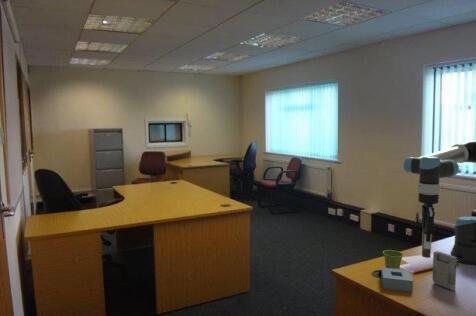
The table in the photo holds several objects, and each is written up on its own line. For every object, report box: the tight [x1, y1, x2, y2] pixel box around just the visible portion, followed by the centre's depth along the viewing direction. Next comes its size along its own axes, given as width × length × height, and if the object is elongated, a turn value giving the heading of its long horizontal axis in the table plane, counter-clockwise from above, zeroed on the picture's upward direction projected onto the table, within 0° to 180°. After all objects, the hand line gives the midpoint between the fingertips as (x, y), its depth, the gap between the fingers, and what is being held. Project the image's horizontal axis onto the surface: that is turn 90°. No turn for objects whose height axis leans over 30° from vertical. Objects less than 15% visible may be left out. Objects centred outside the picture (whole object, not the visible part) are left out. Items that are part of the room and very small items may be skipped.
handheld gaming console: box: [431, 250, 458, 291], centre depth 163 cm, size 9×4×15 cm, turn 28°
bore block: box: [380, 267, 414, 293], centre depth 166 cm, size 12×12×5 cm
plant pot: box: [382, 249, 404, 269], centre depth 182 cm, size 9×9×9 cm
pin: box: [421, 228, 432, 259], centre depth 156 cm, size 3×3×12 cm
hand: (426, 246), depth 156 cm, fingers closed on pin, 3 cm apart
